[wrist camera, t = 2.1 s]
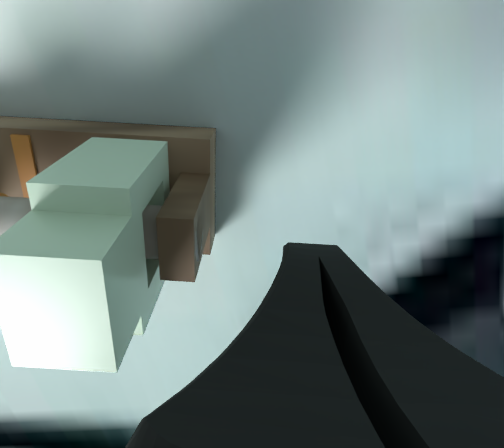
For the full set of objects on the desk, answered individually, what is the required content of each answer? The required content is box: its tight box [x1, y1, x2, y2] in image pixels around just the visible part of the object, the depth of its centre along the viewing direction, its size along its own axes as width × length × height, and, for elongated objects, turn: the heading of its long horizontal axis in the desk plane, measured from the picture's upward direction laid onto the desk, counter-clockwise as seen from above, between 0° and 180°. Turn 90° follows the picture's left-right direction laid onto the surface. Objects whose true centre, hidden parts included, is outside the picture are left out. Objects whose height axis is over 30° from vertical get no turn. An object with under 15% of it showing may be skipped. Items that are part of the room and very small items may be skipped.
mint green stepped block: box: [0, 137, 170, 373], centre depth 11 cm, size 2×4×6 cm, turn 178°
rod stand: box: [0, 116, 216, 282], centre depth 14 cm, size 9×4×5 cm, turn 88°
